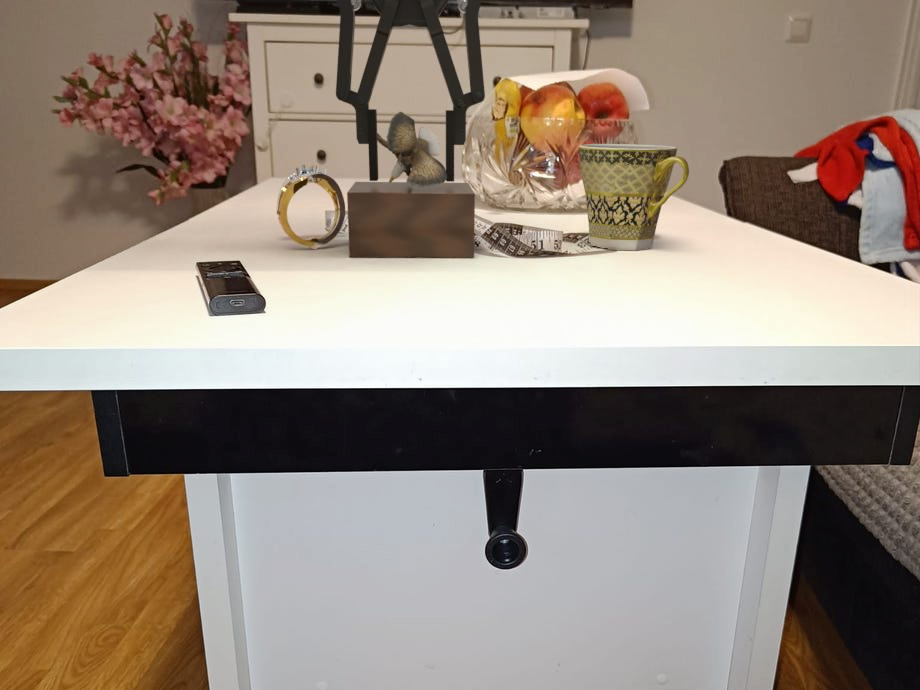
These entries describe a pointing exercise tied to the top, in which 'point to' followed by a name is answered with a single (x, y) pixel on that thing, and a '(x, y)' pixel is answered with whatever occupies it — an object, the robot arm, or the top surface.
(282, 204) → the ring
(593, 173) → the ceramic cup
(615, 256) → the top surface
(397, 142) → the eagle figurine
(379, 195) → the walnut block
